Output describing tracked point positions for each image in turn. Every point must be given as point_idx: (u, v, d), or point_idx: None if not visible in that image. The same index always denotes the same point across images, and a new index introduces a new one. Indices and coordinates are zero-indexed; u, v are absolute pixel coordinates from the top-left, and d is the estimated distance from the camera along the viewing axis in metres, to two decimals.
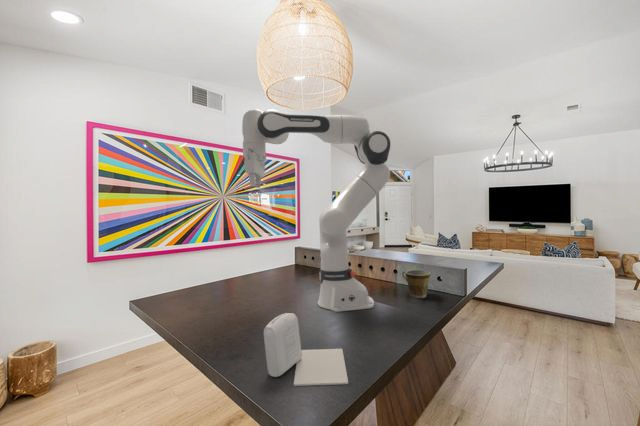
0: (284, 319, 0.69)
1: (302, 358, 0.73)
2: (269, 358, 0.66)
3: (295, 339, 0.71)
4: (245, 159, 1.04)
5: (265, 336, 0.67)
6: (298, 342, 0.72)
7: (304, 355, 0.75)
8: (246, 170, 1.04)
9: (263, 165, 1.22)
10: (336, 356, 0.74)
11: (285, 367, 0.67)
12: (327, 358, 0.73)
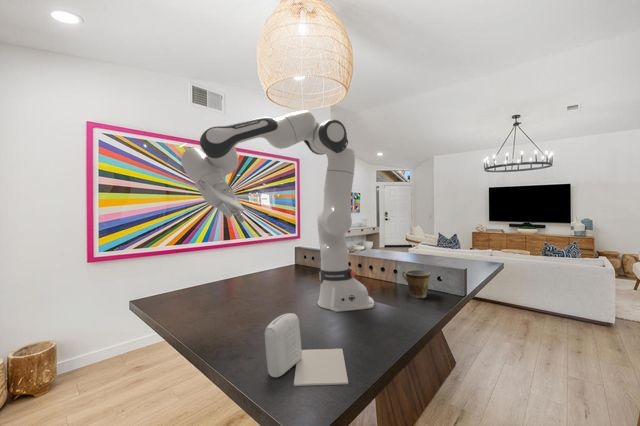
0: (286, 319, 0.69)
1: (302, 358, 0.73)
2: (269, 358, 0.66)
3: (296, 339, 0.71)
4: (201, 192, 0.84)
5: (266, 336, 0.66)
6: (299, 343, 0.72)
7: (304, 355, 0.75)
8: (209, 201, 0.83)
9: (235, 198, 1.01)
10: (336, 356, 0.74)
11: (285, 368, 0.67)
12: (327, 358, 0.73)
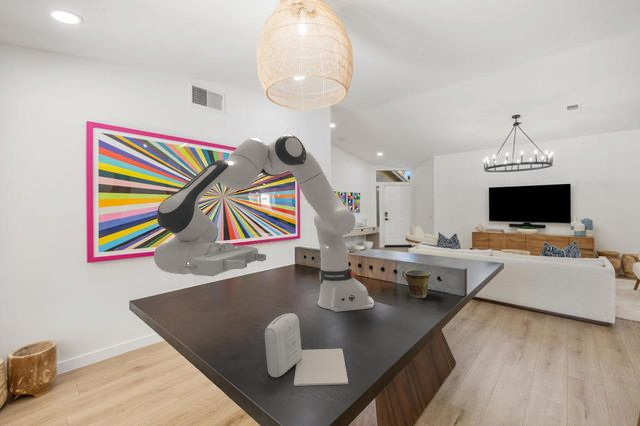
0: (286, 319, 0.69)
1: (302, 358, 0.73)
2: (269, 358, 0.66)
3: (296, 339, 0.71)
4: (197, 272, 0.65)
5: (266, 336, 0.66)
6: (299, 343, 0.72)
7: (304, 355, 0.75)
8: (212, 272, 0.63)
9: (239, 247, 0.81)
10: (336, 356, 0.74)
11: (285, 368, 0.67)
12: (327, 358, 0.73)
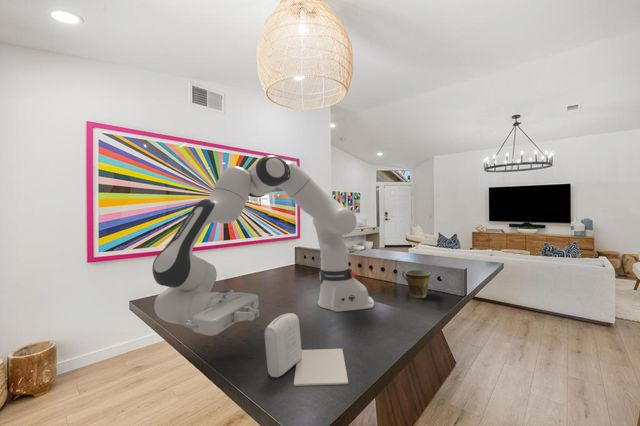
0: (286, 319, 0.69)
1: (302, 358, 0.73)
2: (269, 358, 0.66)
3: (296, 339, 0.71)
4: (198, 331, 0.65)
5: (266, 336, 0.66)
6: (299, 343, 0.72)
7: (304, 355, 0.75)
8: (212, 333, 0.64)
9: (240, 295, 0.82)
10: (336, 356, 0.74)
11: (285, 368, 0.67)
12: (327, 358, 0.73)
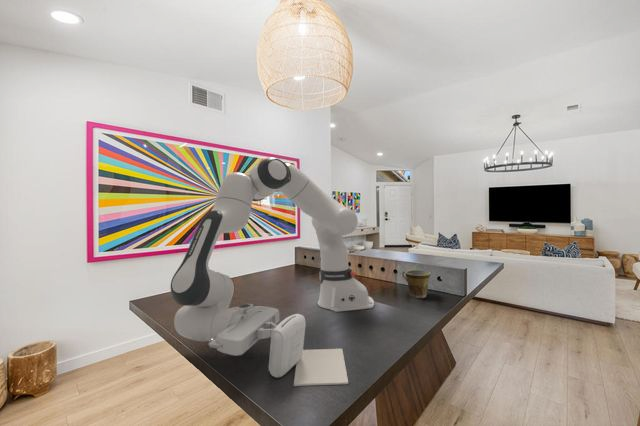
0: (294, 323, 0.67)
1: (302, 358, 0.73)
2: (273, 359, 0.65)
3: (300, 341, 0.70)
4: (223, 351, 0.63)
5: (273, 338, 0.65)
6: (302, 344, 0.71)
7: (304, 355, 0.75)
8: (238, 352, 0.62)
9: (260, 309, 0.80)
10: (336, 356, 0.74)
11: (286, 369, 0.67)
12: (327, 358, 0.73)
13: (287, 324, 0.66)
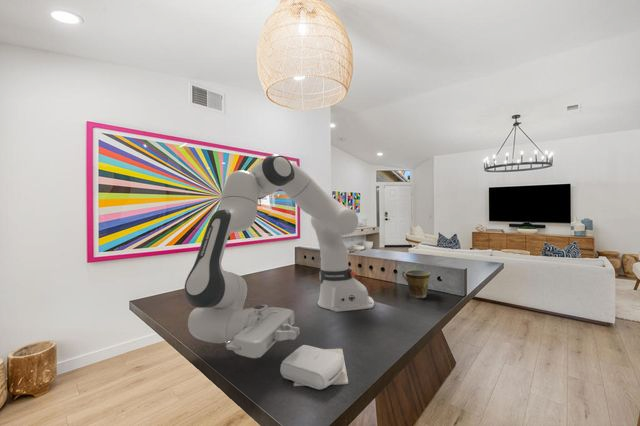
0: None
1: None
2: (295, 374, 0.62)
3: None
4: (241, 353, 0.62)
5: (314, 376, 0.60)
6: None
7: None
8: (257, 355, 0.61)
9: (275, 310, 0.79)
10: None
11: None
12: None
13: (333, 381, 0.61)
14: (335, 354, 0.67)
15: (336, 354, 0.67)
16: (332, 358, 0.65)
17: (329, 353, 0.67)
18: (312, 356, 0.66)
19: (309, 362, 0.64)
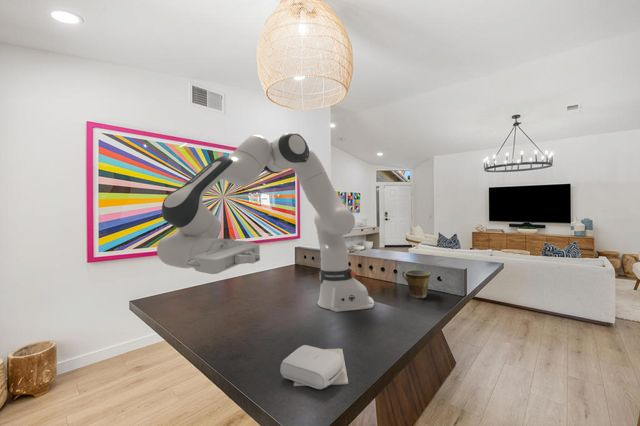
0: None
1: None
2: (295, 373, 0.62)
3: None
4: (200, 270, 0.66)
5: (314, 375, 0.60)
6: None
7: None
8: (214, 271, 0.65)
9: (241, 243, 0.82)
10: None
11: None
12: None
13: (333, 381, 0.61)
14: (335, 354, 0.67)
15: (336, 354, 0.67)
16: (332, 358, 0.65)
17: (329, 353, 0.67)
18: (312, 356, 0.66)
19: (310, 361, 0.64)
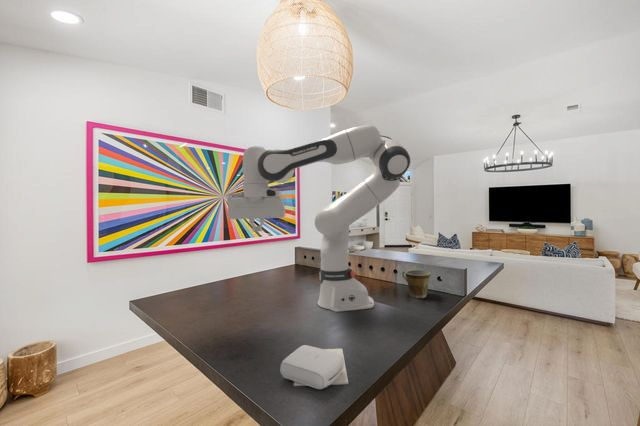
0: None
1: None
2: (295, 373, 0.62)
3: None
4: None
5: (314, 375, 0.60)
6: None
7: None
8: None
9: (277, 203, 1.00)
10: None
11: None
12: None
13: (333, 381, 0.61)
14: (335, 354, 0.67)
15: (336, 354, 0.67)
16: (332, 358, 0.65)
17: (329, 353, 0.67)
18: (312, 356, 0.66)
19: (310, 361, 0.64)
